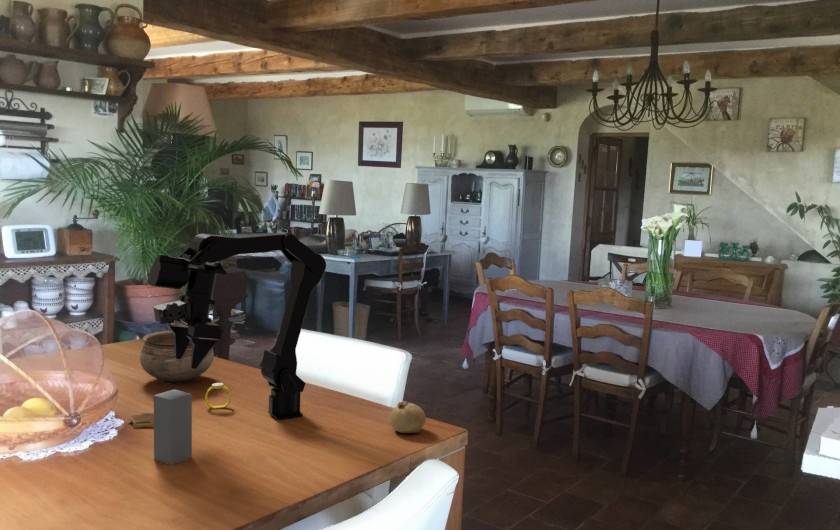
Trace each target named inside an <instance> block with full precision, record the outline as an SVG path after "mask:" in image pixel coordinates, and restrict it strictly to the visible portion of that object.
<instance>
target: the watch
mask: <svg viewBox="0 0 840 530" xmlns="http://www.w3.org/2000/svg"><path fill="white" fill-rule="evenodd" d="M213 389H216V390H217V389H224V390H225V391H226V392H227V393H228V401H227V402H226V403H225V404H222V405H214V404H212V403H210V401H209V399H208V394H209V392H210V391H212V390H213ZM204 397H205V401H204V402H205V403H206V404H207V406H208V408H211V409H212V410H214V409H215V410H217V409H225V408H227V407H228V406H229V405H230V403H231V400H232V392H231V390H230V389H229V387H227V385H224V383H223V382H215V383H212V384H211V386H210V387H208V389H207V390H206V393H205V396H204Z"/></svg>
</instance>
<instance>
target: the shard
mask: <svg viewBox="0 0 840 530" xmlns="http://www.w3.org/2000/svg"><path fill="white" fill-rule="evenodd" d="M127 419H128V420H129V421H130V422H131V423H132V426H133V427H132V428H134V429H137V428H154V412H142V413H139V414H132V415H130V416H128V417H127Z"/></svg>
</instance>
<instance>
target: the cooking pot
mask: <svg viewBox="0 0 840 530" xmlns="http://www.w3.org/2000/svg"><path fill="white" fill-rule="evenodd" d="M142 340H143V342H144V343H143V346H142V347H141V350H140V355H139V362H140V364H141V368H142V369H143V371H145V372H146V373H147V374H148V375H149V376H150V377H153V378H155V379H157V380H159V381H161V382H163V383H165V384H169V385H182V384H183V383H184V384H188V383H190V382H191V381H193V380H194V379H196V378H197V377H199V376H201V375H203V374H204V373H206V371H208V370H209V368H210V367H211V366H212V364H213V361H214V357H215V356H214V355H215V354H214V352H215V351H214V349H213V347H212V348H211V349H210V351H209V352H208V353H207V355H206V356H205V357H204V359H203V360H202V362H201V363H200V364H199V366H198V367H197V368H196V369H192V368H191V353H192V343H191V341H190V342H189V344H188V347H187V349H186V351H185V353H184V354H183V356H182V358H181V359H176V356H175V346H174V337H173V332H172V331H171V330H164V331H163V330H162V331H156V332H155V331H154V332H151V333H148V334H145V335H143V337H142ZM184 384H183V385H184Z"/></svg>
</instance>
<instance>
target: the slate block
mask: <svg viewBox="0 0 840 530" xmlns="http://www.w3.org/2000/svg"><path fill="white" fill-rule="evenodd" d="M192 394H193V393H190V392H187V391H186V392H185V391H182V390H179V389H174V388H173V389H170V390H167V391H164V392H161V393H157V394H156V393H155V394H154V395H153V413H154V427H153V460H155V461H158V462H161V463H163V464H167V465H169V466H173V465H176V464H179V463H181V462H183V461H185V460H188V459H190V457H191V458H192V457H193V454H192V453H193V447H192V444H193V443H192V441H193V437H192V436H193V435H192V434H193V426H192V425H193V423H192V422H193V417H192V416H193V410H192V409H193V395H192ZM175 463H176V464H175Z"/></svg>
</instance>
